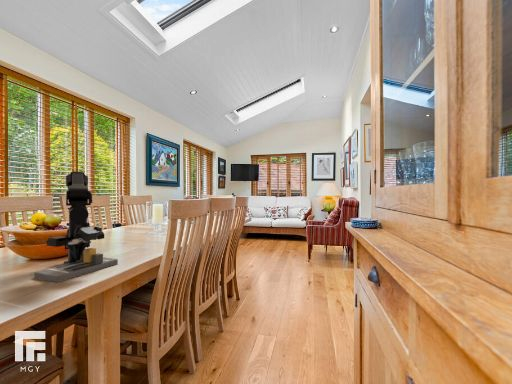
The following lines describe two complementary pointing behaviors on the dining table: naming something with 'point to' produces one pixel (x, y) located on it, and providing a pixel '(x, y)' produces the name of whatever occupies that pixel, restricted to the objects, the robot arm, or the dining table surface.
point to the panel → (75, 268)
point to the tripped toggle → (89, 254)
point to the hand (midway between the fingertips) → (77, 260)
